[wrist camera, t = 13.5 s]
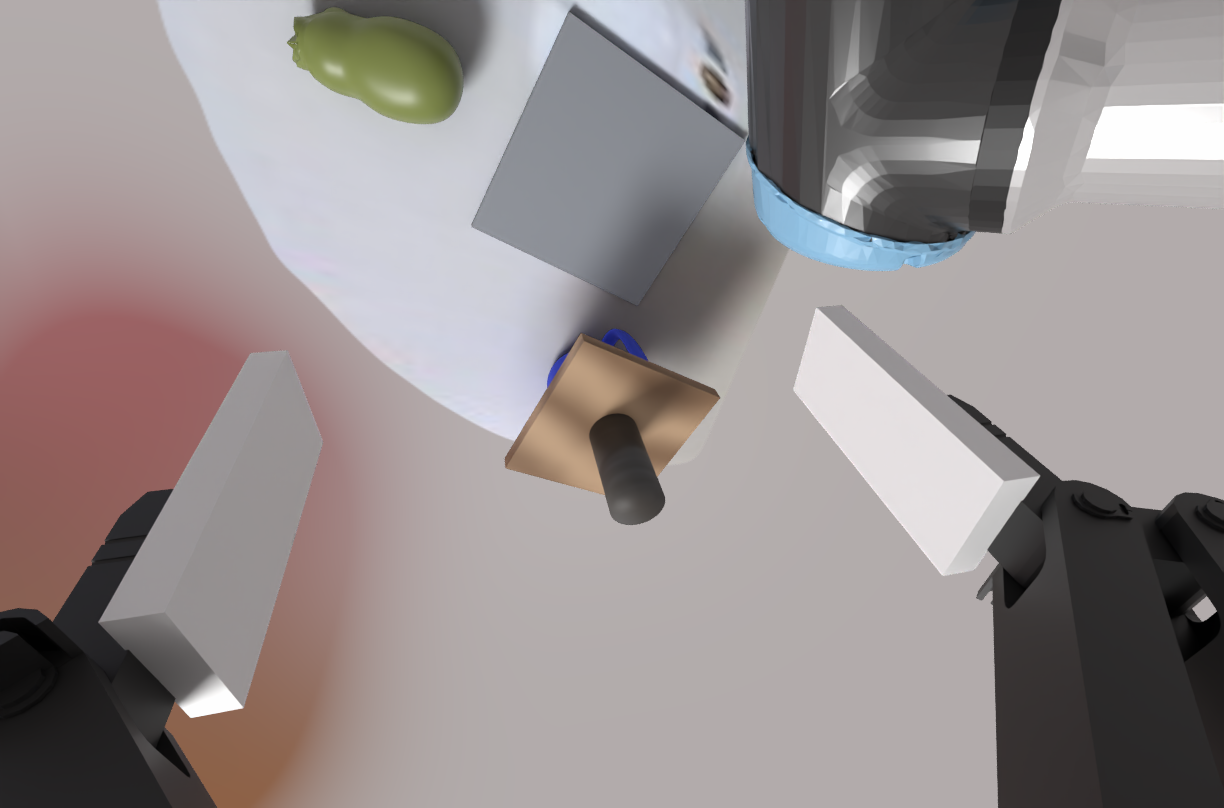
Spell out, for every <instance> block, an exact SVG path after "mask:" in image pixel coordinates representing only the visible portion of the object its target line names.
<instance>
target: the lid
mask: <svg viewBox="0 0 1224 808" xmlns="http://www.w3.org/2000/svg"><path fill="white" fill-rule="evenodd" d="M719 399H720V397H719V395H718V393H717V392H716V390H715V389H713V388H711V387H708V386H706V385H703V384H701V383H699V382H696V381H694V380H692V379H689V378H687V377H684V376H682V375H680V374H677V373H675V372H673V371H670V370H668V369H666V368H663V367H661V366H658V365H656V364H654V363H651V362H649V361H647V360H644V359H642V358H640V357H637V356H635V355H632V354H630V353H628V352H625V351H623V350H621V349H618V348H616V347H613V346H611V345H609V344H606V343H604V342H602V341H599V340H597V339H595V338H592V337H590V336H587V335H585V334H583V333H581V334H580V335H579V337H578V339H577V340H576V342H575V344H574V345H573V347H572V349H571V350H570V352H569V353H568V355H567V357H566V358H565V360H564V362H563V363H562V365H561V367H560V368H559V370H558V372H557V373H556V375H555V376H554V378H553V380H552V381H551V383H550V385H549V386H548V388H547V390H546V391H545V393H544V395H543V396H542V398H541V399H540V401H539V403H538V404H537V406H536V408H535V409H534V411H533V413H532V414H531V416H530V418H529V419H528V421H527V422H526V424H525V426H524V427H523V429H522V431H521V432H520V434H519V436H518V437H517V439H516V441H515V442H514V444H513V446H512V447H511V449H510V450H509V452H508V454H507V456H506V457H505V467H506V468H507V469H510V470H514V471H518V472H522V473H525V474H529V475H533V476H537V477H540V478H544V479H547V480H551V481H555V482H558V483H562V484H566V485H570V486H573V487H577V488H581V489H585V490H588V491H592V492H596V493H599V494H603V495H605V496H606V500H607V503H608V507H609V511H610V514H611V516H612V518H613V519H614V520H615V521H617V522H618V523H621V524H625V525H636V524H641V523H644V522H647V521H649V520H651V519H652V518H654V517H655V516H656V515H658V514H659V513H660V511H661V510H662V508H663V507H664V504H665V496H664V493H663V491H662V488H661V486H660V483H659V481H658V478H657V476H658V475H659V474H660V473H661V471H662V470H663V469H664V468H665V466H666V465H667V464H668V463H669V461H670V460H671V459H672V458H673V456H674V455H675V454H676V453H677V451H678V450H679V449H680V448H681V446H682V445H683V444H684V443H685V441H686V440H687V439H688V438H689V436H690V435H691V434H692V433H693V431H694V430H695V429H696V428H697V426H698V425H699V424H700V423H701V421H702V420H703V419H704V418H705V416H706V415H707V414H708V413H709V411H710V410H711V409H712V407H713V406H714V405H715V404H716V402H717V401H718V400H719Z"/></svg>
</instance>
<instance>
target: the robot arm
mask: <svg viewBox="0 0 1224 808" xmlns="http://www.w3.org/2000/svg"><path fill="white" fill-rule="evenodd" d="M745 18H746V54H747V90H748V127H749V135H748V138H747V141H746V154H747V158H748V162H749V164H750V166H751V169H752V181H753V193H754V204H755V208H756V211H757V214H758V217H759V219H760V220H761V221H762V223H763V224H764V225H765V226H766V227H767V230H769V232H770V234H771V235H772V236H773V237H774V238H775V239H776V240H778V241H779V242H780V243H782V244H783V245H785V246H786V247H788V248H789V249H791V250H793V251H795V252H797V253H799V254H801V255H803V256H806V257H808V258H810V259H814V260H816V261H819V262H823V263H826V264H830V265H834V266H839V267H844V268H851V269H859V270H869V271H892V270H898V269H899V268H901V266H902V265H903V264H908V265H911V266H913V267H916V268H919V267H924V266H928V265H931V264H934V263H938V262H940V261H943V260H945V259H947V258H948V257H950V256H952V255H954V254H955V253H956V252H958V251H959V250H960V249H961V248H962V247H963V246H964V245H965V244H966V242H967V241H968V240H969V239H971V237H972V236H973V235H974V233H975V232H976V231H977V232H991V233H1004V234H1012V233H1014V232H1015V231H1017V230H1019V229H1020V228H1022V227H1023V226H1025V225H1027V224H1028V223H1030V222H1032V221H1033V220H1035V219H1037V218H1038V217H1040V216H1042V215H1043V214H1045V213H1047V212H1048V211H1050V210H1052V209H1053V208H1055V207H1058V206H1061V205H1064V204H1066V203H1069V202H1083V203H1104V204H1125V205H1147V206H1148V205H1150V206H1170V207H1190V208H1192V207H1193V208H1212V209H1224V0H745ZM793 390H794V392H795V393H796V394H797V395H798V397H799V398H800V399H801V400H802V402H803V403H804V404H805V405H806V407H807V408H808V409H809V410H810V412H811V413H812V414H813V415H814V417H815V418H816V419H817V420H818V422H819V423H820V424H821V425H822V426H823V428H824V429H825V430H826V432H827V433H828V434H829V435H830V437H831V438H832V439H833V440H834V442H835V443H836V444H837V445H838V446H839V448H840V449H841V450H842V451H843V453H844V454H845V455H846V456H847V458H848V459H849V460H850V461H851V463H852V464H853V465H854V466H855V468H856V469H857V470H858V471H859V473H860V474H861V475H862V476H863V478H864V479H865V480H866V481H867V482H868V484H869V485H870V486H871V488H872V489H873V490H874V491H875V492H876V494H877V495H878V496H879V497H880V499H881V500H882V501H883V502H884V504H885V505H886V506H887V507H888V509H889V510H890V511H891V512H892V514H893V515H894V516H895V517H896V519H897V520H898V521H899V522H900V524H901V525H902V526H903V527H904V529H905V530H906V531H907V532H908V533H909V535H910V536H911V537H912V539H913V540H914V541H915V542H916V543H917V544H918V546H919V547H920V548H921V550H922V551H923V552H924V553H925V555H926V556H927V557H928V558H929V559H930V561H931V562H932V563H933V565H934V566H935V567H936V568H937V570H938V571H939V572H940V573H941V574H942V576H946V575H951V574H956V573H961V572H967V571H972V570H975V568H976V567H977V566H978V564H979V563H980V561H981V560H982V558H983V557H984V555H985V554H986V553H987V551H989V552H990V553H991V555H992V556H993V557H994V558H995V559H996V560H997V561H998V562H999V564H998V565H997V566H996V568H995V569H994V571H993V572H992V573H991V575H990V576H989V578H988V579H987V580H986V582H985V583H984V584H983V585H982V587H981V588H980V590H979V591H978V594H977V597H976V598H977V599H979V600H983V599H984V597H985V596H986V595H987V593H988V592H989V591H992V590H993V601H992V602H991V604H992V605H993V622H994V663H995V702H996V740H997V779H998V808H1224V500H1221V499H1218V498H1215V497H1210V496H1207V495H1203V494H1199V493H1182V494H1179V495H1176V496H1175V497H1174V498H1173V499H1172V500H1171V502H1170V503H1169V504H1168V505H1167V506H1166V507H1165V508H1164V509H1163V510H1153V509H1144V508H1136V507H1131V506H1129V505H1128V504H1127V503H1126V502H1125V501H1124V500H1123V499H1122V498H1120V497H1118V496H1117V495H1115V494H1113V493H1112V492H1110V491H1108V490H1107V489H1104V488H1102V487H1099V486H1096V485H1094V484H1091V483H1087V482H1082V481H1077V480H1071V481H1061V480H1060V479H1059V478H1058V477H1057V476H1056V475H1054V474H1053V473H1052V472H1051V471H1050V470H1049V469H1047V468H1046V467H1045V466H1044V465H1042V464H1041V463H1040V462H1039V461H1038V460H1037V459H1035V458H1034V457H1033V456H1032V455H1031V454H1029V453H1028V452H1027V451H1026V450H1024V449H1023V448H1022V447H1021V446H1020V445H1019V444H1017V443H1016V442H1015V441H1014V440H1013V439H1011V438H1010V437H1006V434H1005V433H1004V432H1003V431H1002V430H1001V429H999V428H998V427H997V426H996V425H992V424H991V421H990V420H989V419H988V418H986V417H985V416H984V415H983V414H982V413H980V412H979V411H978V410H977V409H976V408H974V407H973V406H971V405H969V404H967V403H965V402H964V401H961V400H960V399H958V398H956V397H954V396H952V395H946V394H945V393H944V392H942V391H941V390H940V389H939V388H937V386H935V385H934V384H933V383H932V382H931V381H930V380H928V379H927V378H926V377H925V376H924V375H923V374H921V373H920V372H919V371H918V370H917V369H915V368H914V367H913V366H912V365H911V364H910V363H909V362H907V361H906V360H905V359H904V358H903V357H902V356H901V355H899V354H898V353H897V352H896V351H895V350H894V349H892V348H891V347H890V346H889V345H888V344H886V343H885V342H884V341H883V340H882V339H881V338H879V337H878V336H877V335H876V334H875V333H874V332H873V331H871V330H870V329H869V328H868V327H867V326H866V325H864V324H863V323H862V322H861V321H860V320H858V318H856V317H855V316H854V315H853V314H852V313H851V312H849V311H848V310H847V309H846V308H845V307H844V306H842V305H840V306H827V307H817V308H816V311H815V315H814V318H813V322H812V325H811V329H810V332H809V336H808V340H807V343H806V347H805V350H804V354H803V357H802V361H801V365H800V368H799V371H798V375H797V378H796V382H795V386H794V389H793ZM322 445H323V440H322V437H321V435H320V432H319V430H318V427H317V425H316V422H315V419H314V417H313V414H312V412H311V409H310V406H309V404H308V401H307V399H306V396H305V393H304V391H303V389H302V386H301V383H300V380H299V378H298V375H297V373H296V370H295V368H294V365H293V362H292V360H291V357H290V355H289V352H288V350H283V351H272V352H259V353H250V355H249V357H248V358H247V360H246V362H245V364H244V366H243V367H242V369H241V371H240V373H239V374H238V376H237V378H236V380H235V382H234V383H233V385H232V387H231V389H230V390H229V392H228V394H227V396H226V397H225V399H224V401H223V403H222V404H221V406H220V408H219V410H218V412H217V413H216V415H215V417H214V419H213V420H212V422H211V424H210V426H209V428H208V429H207V431H206V433H205V435H204V436H203V438H202V440H201V442H200V444H199V445H198V447H197V449H196V450H195V452H194V454H193V456H192V458H191V459H190V461H189V463H188V465H187V467H186V468H185V470H184V472H183V473H182V475H181V477H180V479H179V481H178V482H177V484H176V486H175V488H174V489H168V490H160V491H151V492H147V493H146V494H145V495H143V496H142V497H141V498H140V499H139V500H138V501H136V502H135V503H134V504H133V505H132V506H131V507H129V508H128V509H127V510H126V511H125V512H124V513H123V514H121V515H120V517H119V518H118V520H117V522H116V523H115V525H114V526H113V528H112V529H111V531H110V533H109V534H108V536H107V537H106V539H105V545H101V547H100V548H99V550H98V552H97V553H96V555H95V556H94V558H93V559H92V566H88V567H87V569H86V570H85V572H84V574H83V575H82V577H81V578H80V580H79V581H78V583H77V585H76V586H75V588H74V589H73V591H72V592H71V594H70V595H69V597H68V599H67V600H66V602H65V603H64V605H63V606H62V608H61V610H60V611H59V613H58V614H57V616H56V617H55V619H54V621H53V622H52V621H51V620H49V618H47V617H46V616H45V615H43V614H42V613H41V612H40V611H38V610H34V609H21V608H17V609H12V610H8V611H3V612H0V808H217V806H216V805H215V803H214V801H213V800H212V798H211V797H210V795H209V793H208V792H207V790H206V789H205V787H204V785H203V784H202V782H201V781H200V779H199V777H198V776H197V774H196V772H195V771H194V769H193V768H192V766H191V764H190V763H189V761H188V759H187V758H186V756H185V755H184V753H183V752H182V750H181V748H180V747H179V745H178V743H177V742H176V740H175V738H174V737H173V735H172V734H171V733H170V732H169V731H168V730H166V728H165V724H166V722H167V719H168V717H169V714H170V712H171V709H172V707H173V704H174V702H176V703H177V704H178V705H179V706H180V707H181V708H182V709H183V710H184V711H185V712H186V713H187V714H188V715H189V716H190V717H191V718H193V717H198V716H203V715H208V714H214V713H219V712H225V711H230V710H235V709H240V708H244V705H245V701H246V698H247V695H248V691H249V688H250V684H251V681H252V678H253V675H254V671H255V668H256V665H257V661H258V658H259V655H260V651H261V648H262V644H263V641H264V638H265V635H266V631H267V628H268V625H269V621H270V618H271V615H272V611H273V608H274V605H275V601H276V598H277V595H278V591H279V588H280V585H281V581H282V578H283V575H284V571H285V568H286V565H287V561H288V558H289V555H290V551H291V548H292V545H293V541H294V538H295V535H296V531H297V528H298V525H299V521H300V518H301V515H302V511H303V508H304V505H305V501H306V498H307V494H308V491H309V488H310V485H311V481H312V478H313V475H314V471H315V468H316V465H317V461H318V458H319V455H320V451H321V448H322ZM1206 596H1207V597H1208V598H1209V599H1210V601H1211V602H1212V604H1213V605H1214V607H1215V608H1216V610H1217V612H1216V613H1215V614H1213V615H1212V616H1211V617H1210V618H1209V619H1207V620H1205V621H1204V622H1202V621H1201V620H1200V619H1199V618H1198V617H1197V615H1196V614H1195V612H1194V611H1193V610H1192V608H1193V607H1194V606H1195V605H1197V604H1198V603H1199V602H1200V601H1201V600H1202V599H1204V598H1205V597H1206Z"/></svg>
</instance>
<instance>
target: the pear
mask: <svg viewBox="0 0 1224 808" xmlns="http://www.w3.org/2000/svg"><path fill="white" fill-rule="evenodd" d="M293 27H294V31H295V35H294V36H292V37H293V38H291V39H290V41H289V40H288V42H290V43H288V42H287V44H289V45H290V46H291V47H292V48H293V49H294V50H293V61H294V62H295V63H296V64H297V67H299V68H302V69H304V70H308V71H310V73H311V74H312V76H313V77H314V78H315V79H316V80H317V81H319V82H320V83H321V84H323V85H324V86H326V87H327V88H329V89H330V90H332V91H334V92H337V93H339V94H342V95H345V96H349V97H352V98H356V99H359V100H361V101H362V102H364V103H365V104H366V105H367V106H369V107H370V108H372V109H373V110H375V111H376V112H378V113H380V114H381V115H383V116H386V117H388V118H391V119H394V120H398V121H402V122H407V123H414V124H434V123H438V122H441V121H444V120H445V119H447V118H448V117H450V116H451V115H452V114H453V113H454V111H455V110H456V108H457V107H458V105H459V102H460V100H461V96H462V92H463V72H462V67H461V63H460V60H459V58H458V56H457V54H456V52H455V50H454V49H453V48H452V46H451V45H450V44H449V43H448V42H447V41H446V40H445V39H444V38H443V37H441V36H440V35H439V34H437V33H436V32H434V31H432V30H430V29H428V28H426V27H424V26H422V25H420V24H417V23H414V22H411V21H408V20H405V19H401V18H396V17H390V16H378V17H371V18H364V17H360V16H356V15H353V14H349V13H347V12H346V11H344V10H343V9H340V8H337V7H330V8H327V9H326V10H325V11H324V12H320V13H317V14H313V15H310V16H307V17H306V16H305V17H301V16H300V17H294V26H293ZM291 43H294V44H291ZM295 43H296V44H297V45H296V44H295Z"/></svg>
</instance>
